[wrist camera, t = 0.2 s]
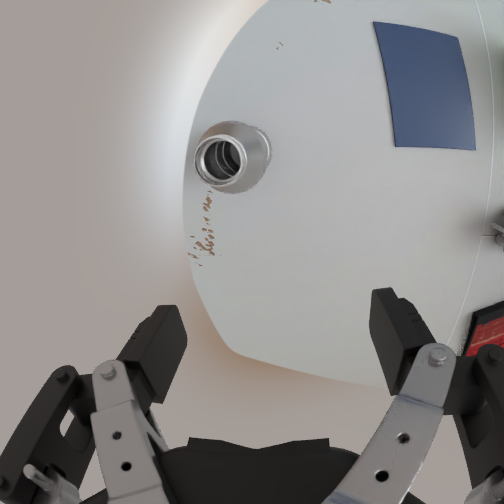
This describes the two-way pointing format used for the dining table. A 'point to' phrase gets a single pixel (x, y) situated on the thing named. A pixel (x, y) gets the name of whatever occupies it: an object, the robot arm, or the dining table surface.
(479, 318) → the notebook
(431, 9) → the dining table surface
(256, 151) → the silver metal bottle
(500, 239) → the gray elephant figurine
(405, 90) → the flat rectangular board
